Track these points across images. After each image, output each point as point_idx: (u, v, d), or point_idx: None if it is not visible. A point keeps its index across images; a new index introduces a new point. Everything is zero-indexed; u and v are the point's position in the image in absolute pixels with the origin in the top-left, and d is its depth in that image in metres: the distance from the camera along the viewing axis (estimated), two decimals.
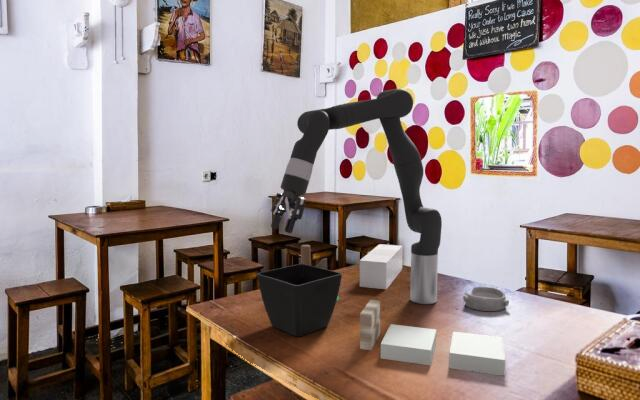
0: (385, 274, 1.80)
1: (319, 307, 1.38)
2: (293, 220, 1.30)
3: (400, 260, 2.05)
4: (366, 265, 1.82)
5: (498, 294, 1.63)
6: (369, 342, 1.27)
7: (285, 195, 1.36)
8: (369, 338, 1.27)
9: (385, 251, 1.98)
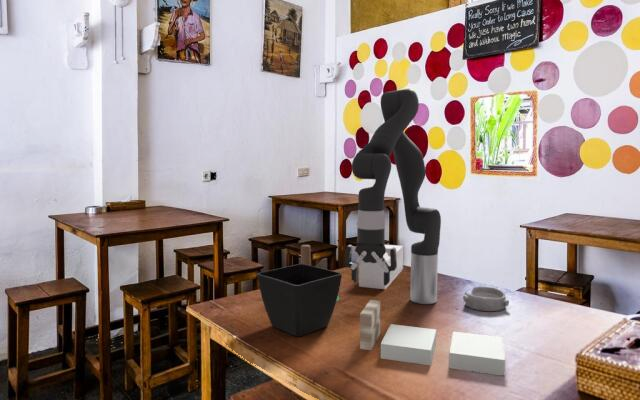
0: None
1: (319, 307, 1.38)
2: (389, 272, 1.29)
3: (400, 260, 2.05)
4: (365, 265, 1.82)
5: (498, 294, 1.63)
6: (369, 342, 1.27)
7: (364, 248, 1.29)
8: (369, 338, 1.27)
9: None
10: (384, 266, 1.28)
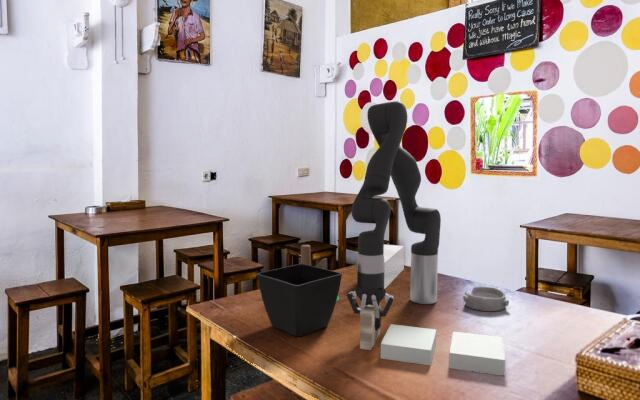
0: None
1: (319, 307, 1.38)
2: (380, 317, 1.31)
3: (401, 260, 2.05)
4: None
5: (498, 294, 1.63)
6: (369, 342, 1.27)
7: (364, 291, 1.31)
8: (369, 338, 1.27)
9: (385, 251, 1.98)
10: (377, 311, 1.30)
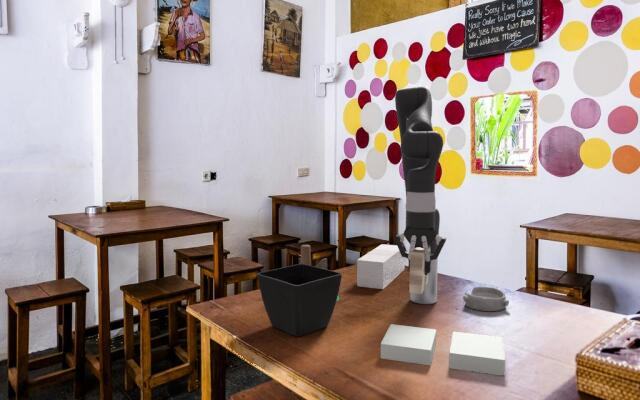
0: (382, 274, 1.80)
1: (319, 307, 1.38)
2: (430, 261, 1.22)
3: (401, 260, 2.05)
4: (364, 264, 1.83)
5: (498, 294, 1.63)
6: (419, 285, 1.18)
7: (414, 232, 1.22)
8: (419, 281, 1.18)
9: (385, 251, 1.98)
10: (427, 254, 1.21)
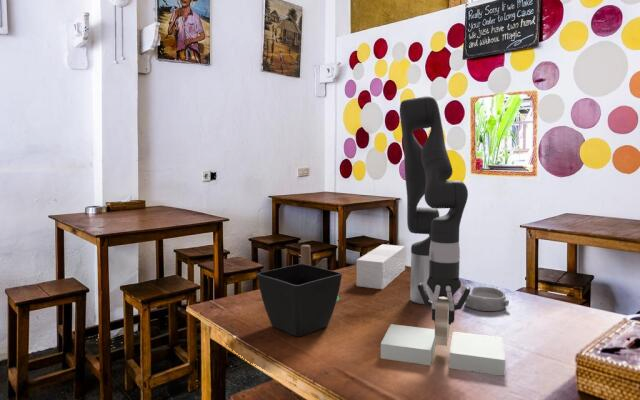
0: (381, 274, 1.80)
1: (319, 307, 1.38)
2: (454, 310, 1.21)
3: (402, 260, 2.05)
4: (363, 264, 1.83)
5: (498, 294, 1.63)
6: (445, 337, 1.17)
7: (437, 282, 1.21)
8: (445, 332, 1.17)
9: (385, 251, 1.98)
10: (451, 304, 1.20)
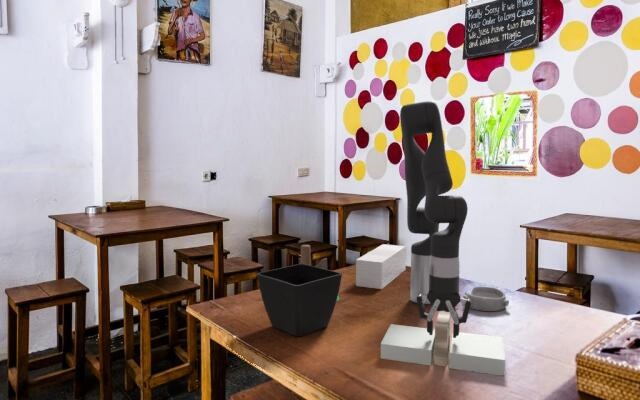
0: (380, 274, 1.80)
1: (319, 307, 1.38)
2: (459, 323, 1.21)
3: (402, 261, 2.04)
4: (362, 264, 1.83)
5: (498, 294, 1.63)
6: (445, 357, 1.17)
7: (437, 296, 1.21)
8: (444, 353, 1.17)
9: (385, 251, 1.98)
10: (455, 317, 1.20)
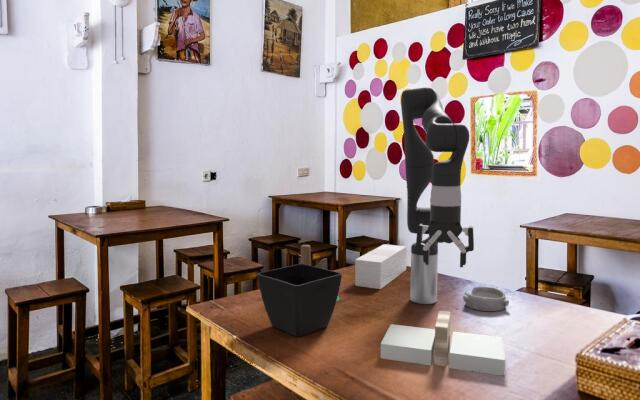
0: (379, 274, 1.80)
1: (319, 307, 1.38)
2: (466, 252, 1.19)
3: (403, 261, 2.04)
4: (361, 264, 1.83)
5: (498, 294, 1.63)
6: (445, 357, 1.17)
7: (439, 227, 1.19)
8: (444, 353, 1.17)
9: (385, 251, 1.98)
10: (461, 246, 1.18)
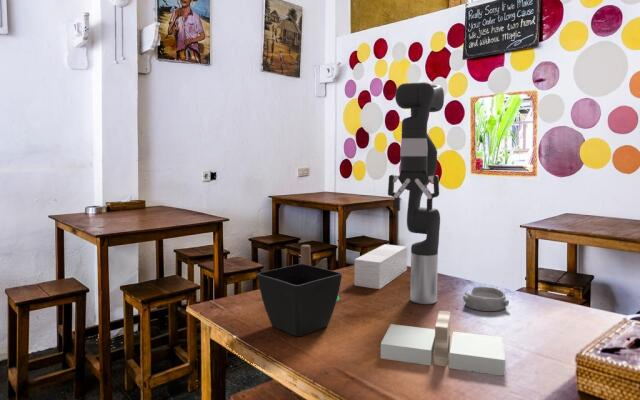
0: (378, 274, 1.80)
1: (319, 307, 1.38)
2: (432, 199, 1.33)
3: (403, 261, 2.04)
4: (361, 264, 1.84)
5: (498, 294, 1.63)
6: (445, 357, 1.17)
7: (408, 176, 1.33)
8: (444, 353, 1.17)
9: (386, 251, 1.98)
10: (427, 193, 1.32)
